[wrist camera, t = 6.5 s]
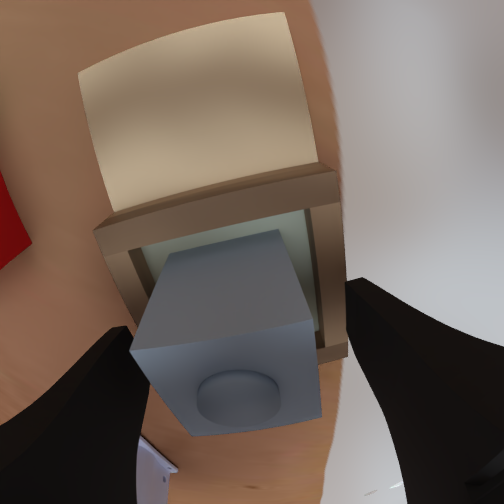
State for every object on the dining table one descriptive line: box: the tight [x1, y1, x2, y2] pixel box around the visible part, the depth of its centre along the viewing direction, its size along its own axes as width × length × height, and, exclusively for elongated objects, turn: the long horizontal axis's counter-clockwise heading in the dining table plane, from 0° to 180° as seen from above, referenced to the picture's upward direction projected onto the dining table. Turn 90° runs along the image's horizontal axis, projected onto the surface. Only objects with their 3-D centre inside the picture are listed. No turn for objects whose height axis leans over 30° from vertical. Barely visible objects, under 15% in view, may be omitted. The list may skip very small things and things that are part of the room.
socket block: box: [78, 12, 348, 365], centre depth 10 cm, size 14×8×3 cm, turn 12°
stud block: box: [129, 229, 322, 436], centre depth 8 cm, size 4×4×5 cm
